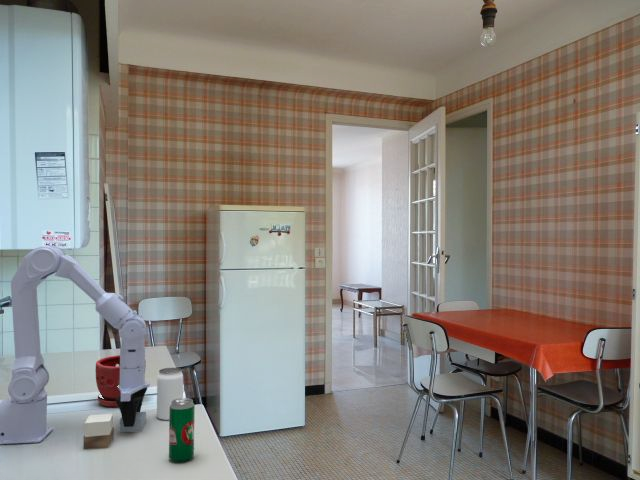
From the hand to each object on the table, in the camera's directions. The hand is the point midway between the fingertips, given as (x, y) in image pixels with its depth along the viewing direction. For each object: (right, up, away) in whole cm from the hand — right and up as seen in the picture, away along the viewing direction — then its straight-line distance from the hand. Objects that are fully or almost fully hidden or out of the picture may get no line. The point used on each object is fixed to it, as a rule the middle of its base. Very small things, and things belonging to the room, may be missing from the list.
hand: (131, 422), depth 119 cm
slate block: (0, -2, 0) cm, 2 cm away
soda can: (+17, -2, -17) cm, 24 cm away
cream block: (-3, +1, -10) cm, 10 cm away
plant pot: (-10, -2, +19) cm, 22 cm away
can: (+7, -2, +8) cm, 11 cm away
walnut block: (-4, -2, -10) cm, 10 cm away
